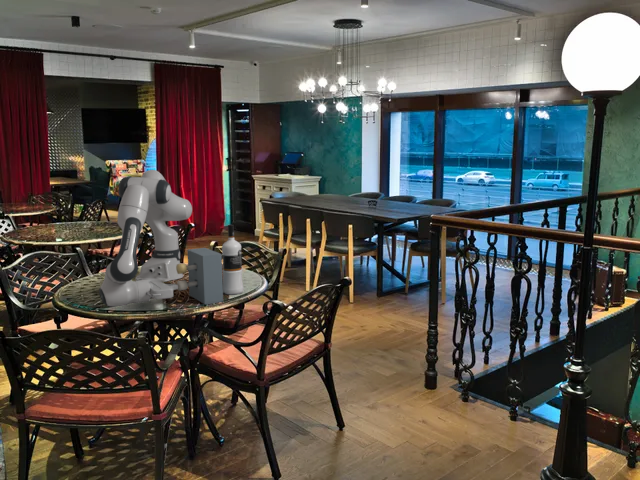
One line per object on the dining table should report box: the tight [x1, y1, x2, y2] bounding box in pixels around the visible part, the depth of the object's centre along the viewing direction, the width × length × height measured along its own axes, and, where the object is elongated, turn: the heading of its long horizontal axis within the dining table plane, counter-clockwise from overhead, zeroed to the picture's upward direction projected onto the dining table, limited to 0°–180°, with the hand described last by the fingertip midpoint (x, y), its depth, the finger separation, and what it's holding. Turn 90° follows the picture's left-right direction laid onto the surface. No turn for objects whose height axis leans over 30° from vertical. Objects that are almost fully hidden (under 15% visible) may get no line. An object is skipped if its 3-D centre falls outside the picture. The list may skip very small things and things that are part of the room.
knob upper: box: [176, 263, 197, 274], centre depth 242 cm, size 14×4×4 cm, turn 122°
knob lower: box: [176, 279, 198, 292], centre depth 243 cm, size 14×4×4 cm, turn 122°
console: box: [186, 247, 224, 305], centre depth 245 cm, size 8×18×20 cm, turn 32°
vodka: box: [221, 224, 245, 296], centre depth 254 cm, size 9×9×30 cm
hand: (177, 286), depth 239 cm, fingers closed
